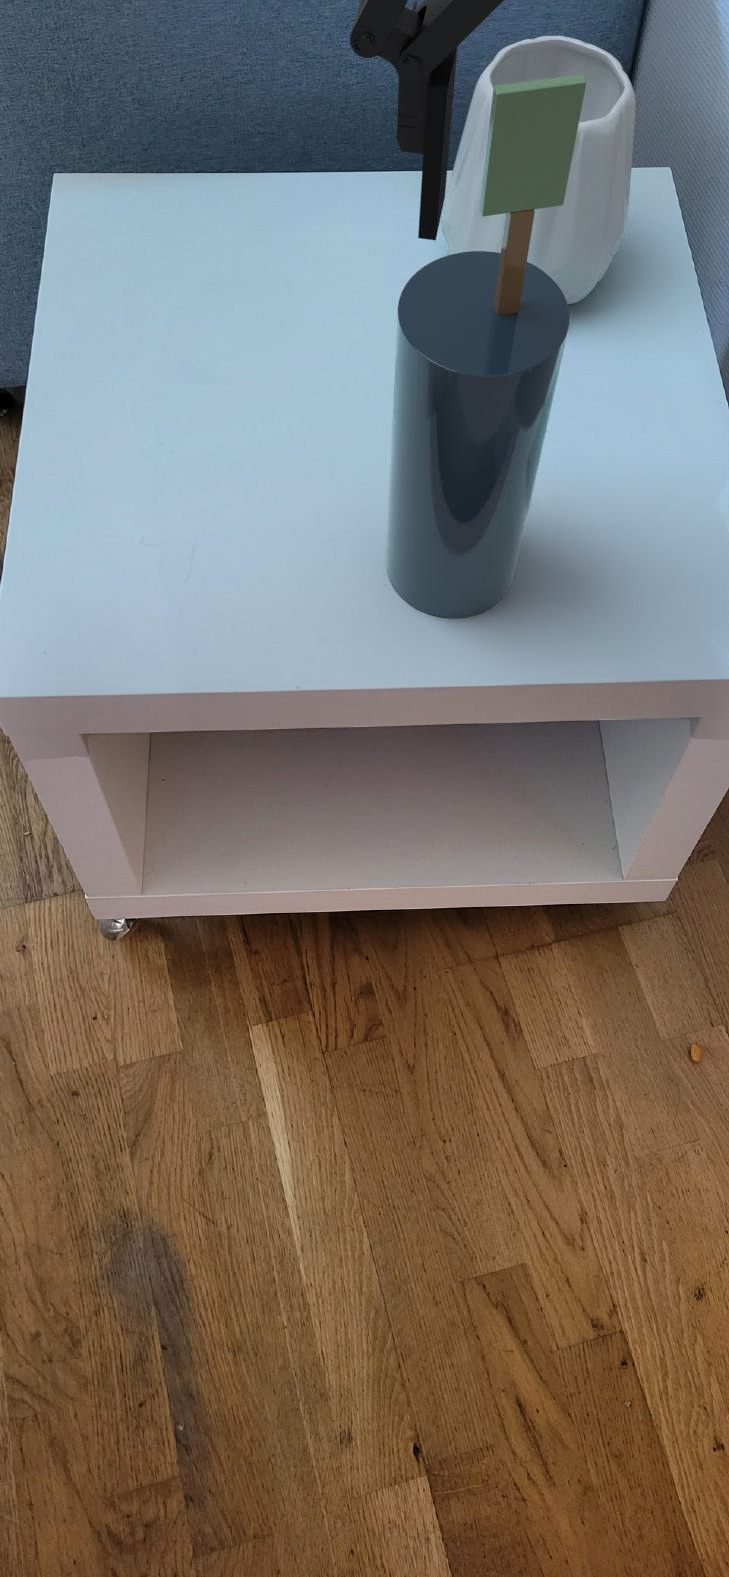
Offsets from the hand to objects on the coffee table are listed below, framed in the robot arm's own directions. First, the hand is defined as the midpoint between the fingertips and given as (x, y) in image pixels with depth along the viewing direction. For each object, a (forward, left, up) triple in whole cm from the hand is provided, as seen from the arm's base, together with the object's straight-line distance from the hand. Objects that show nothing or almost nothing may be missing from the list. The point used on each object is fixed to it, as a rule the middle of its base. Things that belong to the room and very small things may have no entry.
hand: (590, 239), depth 48 cm
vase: (+11, +34, -32) cm, 48 cm away
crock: (-2, +7, -32) cm, 32 cm away
